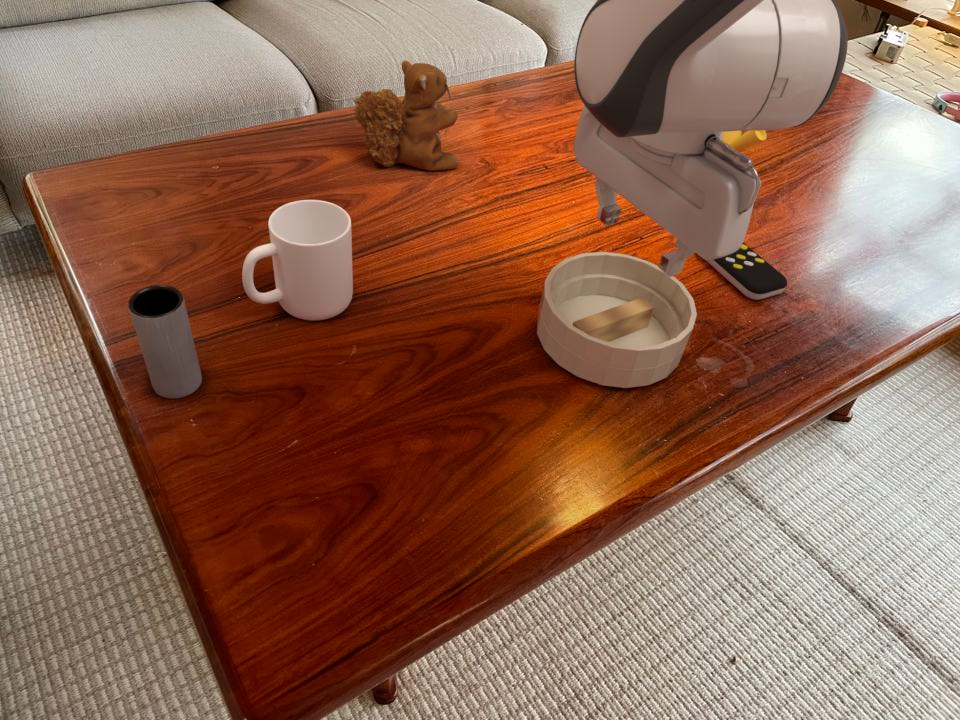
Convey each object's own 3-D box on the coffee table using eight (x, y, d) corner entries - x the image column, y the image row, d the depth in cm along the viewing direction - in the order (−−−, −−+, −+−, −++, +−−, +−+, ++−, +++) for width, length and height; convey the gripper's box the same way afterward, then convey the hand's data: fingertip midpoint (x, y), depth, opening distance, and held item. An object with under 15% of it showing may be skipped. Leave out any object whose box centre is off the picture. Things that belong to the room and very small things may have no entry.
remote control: (751, 304, 89) (757, 291, 88) (686, 246, 97) (690, 233, 96) (788, 293, 92) (794, 280, 90) (721, 237, 99) (726, 224, 98)
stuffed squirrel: (464, 169, 106) (472, 79, 96) (368, 180, 101) (368, 87, 92) (440, 136, 112) (445, 49, 103) (349, 145, 107) (347, 55, 98)
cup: (367, 306, 82) (366, 230, 75) (266, 344, 76) (255, 266, 69) (330, 267, 86) (326, 191, 79) (232, 300, 80) (219, 222, 73)
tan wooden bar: (636, 316, 84) (643, 296, 82) (648, 327, 83) (654, 306, 81) (567, 342, 80) (572, 321, 78) (578, 353, 79) (584, 333, 77)
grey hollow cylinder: (160, 405, 69) (135, 323, 62) (147, 374, 71) (121, 292, 64) (208, 389, 71) (190, 308, 64) (194, 360, 73) (174, 278, 66)
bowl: (709, 361, 81) (728, 320, 77) (596, 411, 74) (610, 369, 70) (616, 279, 90) (628, 238, 86) (508, 316, 83) (515, 274, 79)
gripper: (792, 161, 59) (735, 296, 68) (627, 63, 71) (598, 190, 80) (739, 176, 56) (686, 315, 66) (576, 72, 68) (552, 202, 77)
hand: (636, 245), depth 73 cm, fingers open, 8 cm apart
